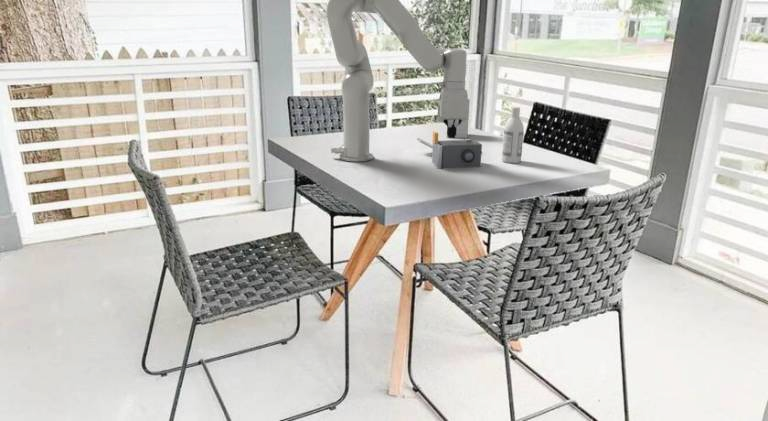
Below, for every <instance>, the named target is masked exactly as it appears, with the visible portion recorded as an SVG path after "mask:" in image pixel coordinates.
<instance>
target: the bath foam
mask: <svg viewBox="0 0 768 421" xmlns="http://www.w3.org/2000/svg"><path fill="white" fill-rule="evenodd" d="M510 113H511V114H510V118H509V119H508V120H507V121H506V123H505V125H504V129H503V130H504V131H503V139H502V140H503V141H502V154H501V156H502V157H501V160H502V162H503V163H506V164H519V163H521V162H522V154H523V144H524V142H523V141H524V125H523V122H522V120H521V118H520V113H521V107H520V106H512V107H511V112H510Z"/></svg>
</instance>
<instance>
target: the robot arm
mask: <svg viewBox="0 0 768 421" xmlns="http://www.w3.org/2000/svg"><path fill="white" fill-rule="evenodd" d="M354 12H355V13H369V14H377V16H378V17H379V18H380V20H382V21H383V23H385V25H386V27H388V28H389V29H390V31H391V32H392V33H393V34H394V35H395V36H396V38H397V39H398V40H399V42H400V43H401V44H402V45H403V46H404V48H405V49H406V50H407V51H408V53H409V54H410V55H411V56H412V58H413V59H414V60H415V61H416V62H417V63H418V65H420V66H421V67H422V69H423V70H425V71H426V72H428V73H433V72H434V73H435V72H437V71H439V70H443V80H442V82H439V84H438V86H439V87H441V88H442V89H441V90H440V93H439V97H438V98H439V99H438V105H437V119H436V120H437V122H438V123H439V122H441V123H444V124H445V126H447V136H448V137H447V138H449V139H456V138H455V136H456V128H457V127H458V125H459V124H460V123H461V122H464V121H467V117H468V98H469V96H468V90H467V89H465V88H466V74H467V72H466V69H467V57H468V54H467V51H466V50H465V49H461V48H448V49H446V48H445V49H444V48H438V47H435V45H433V43H432V42H431V41H430V40H429V39H428V37H427V36H426V35H425V34H424V33H423V31H422V29H421V27H420V25H419V23H418V21H417V20H416V18H415V17H414V16H413V15H412V13H411V12H410V11H409V10H408V9H407V8H406V7H405V6H404V4H403V3H402V2H401V1H400V0H328V2H327V6H326V20H327V24H328V28H329V32H330V36H331V40H332V43H333V49H334V53H335V56H336V57H335V58H336V60H337V62H338V64H339V66H341V67H343V68H344V70H345V74H346V75H345V76H344V77H343V80H342V83H341V96H342V111H343V112H342V117H343V118H342V119H343V144H341V146H339V147H331V148H330V153H332V154H335V155H336V154H339V155H338V156H339V159H341V160H342V161H347V162H355V163H359V162H360V163H361V162H369V161H371V160H373V159H374V154H373V153H372V152H370V94H369V93H370V91H371V90H372V89H373V87H374V84H375V83H374V82H375V81H374V80H375V79H374V75H373V71H372V67H371V63H370V59H369V55H368V50H367V48H366V46H365V45H364V43H363V42H361V41H360V40H359V39H358V37H357V34H356V28H355V26H354V22H353V19H352V13H354ZM451 119H453V124H452V125H451Z"/></svg>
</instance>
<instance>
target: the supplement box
mask: <svg viewBox="0 0 768 421" xmlns="http://www.w3.org/2000/svg"><path fill="white" fill-rule="evenodd" d="M470 102H471V101H470V98H469V97H468V117H467V121H464V122H461V123H460V124H459V125H458V127H457V128H456V136H455V138H454V139H456V138H459V139H462V138H463V139H468V136H469V134H468V133H469V132H468V131H469V120H470V119H469V116H470ZM452 124H453V119H451V125H452ZM444 131H445V132H444V133H445V136H446V138H449V137H448V136H447V126H446V125H445V130H444Z"/></svg>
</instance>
